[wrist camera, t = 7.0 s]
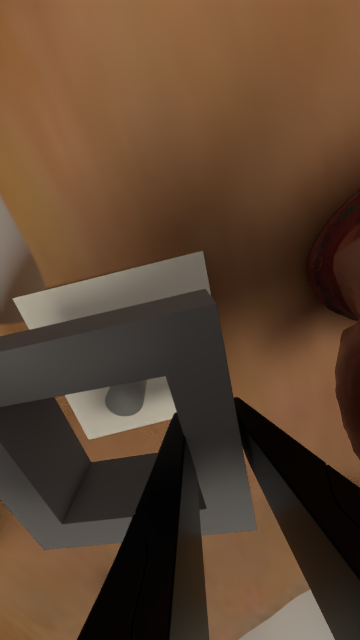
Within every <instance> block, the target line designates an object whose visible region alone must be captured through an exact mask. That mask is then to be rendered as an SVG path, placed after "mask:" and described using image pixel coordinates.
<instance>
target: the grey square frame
mask: <svg viewBox="0 0 360 640" xmlns="http://www.w3.org/2000/svg"><path fill="white" fill-rule="evenodd" d="M164 376H166V379H167V382H168V386H169V389H170V392H171V395H172V398H173V402H174V405H175V408H176V411H177V415H178V418H179V421H180V424H181V427H182V431H183V434H184V436H185V437H186V440H187V443H188V447H189V450H190V453H191V456H192V460H193V463H194V466H195V469H196V474H197V485H198V498H199V512H200V525H201V535H210V534H221V533H232V532H243V531H254V530H257V526H256V521H255V515H254V510H253V504H252V499H251V493H250V487H249V482H248V476H247V471H246V465H245V460H244V454H243V448H242V443H241V437H240V432H239V426H238V421H237V415H236V409H235V404H234V398H233V393H232V387H231V382H230V376H229V371H228V365H227V359H226V354H225V348H224V343H223V337H222V332H221V326H220V320H219V315H218V309H217V304H216V302H215V301H214V299H213V298H212V297H211V295H210V294H209V293H208V291H207V290H206V289H202V290H198V291H193V292H189V293H185V294H180V295H176V296H172V297H168V298H163V299H159V300H155V301H151V302H146V303H142V304H138V305H133V306H129V307H125V308H121V309H116V310H112V311H108V312H103V313H99V314H95V315H91V316H86V317H82V318H78V319H74V320H69V321H65V322H61V323H56V324H52V325H48V326H44V327H39V328H35V329H31V330H27V331H22V332H18V333H14V334H9V335H5V336H1V337H0V500H1V501H2V502H3V503H4V504H5V506H6V507H7V508H8V509H9V510H10V511H11V512H12V514H13V515H14V516H15V517H16V518H17V519H18V520H19V522H20V523H21V524H22V525H23V526H24V527H25V528H26V530H27V531H28V532H29V533H30V534H31V535H32V536H33V538H34V539H35V540H36V541H37V542H38V543H39V544H40V546H41V547H42V548H43V549H44V550H48V549H59V548H70V547H80V546H91V545H102V544H113V543H122V541H123V539H124V537H125V534H126V532H127V529H128V527H129V524H130V522H131V519H132V517H133V515H134V514H135V510H136V507H137V504H138V502H139V499H140V497H141V494H142V492H143V489H144V487H145V484H146V482H147V479H148V477H149V474H150V472H151V469H152V467H153V464H154V462H155V459H156V457H157V454H158V453H153V454H146V455H139V456H132V457H125V458H118V459H111V460H104V461H97V462H91V461H90V460H89V458H88V456H87V454H86V453H85V451H84V449H83V447H82V445H81V444H80V442H79V440H78V438H77V437H76V435H75V433H74V431H73V430H72V428H71V426H70V424H69V422H68V421H67V419H66V417H65V415H64V414H63V412H62V410H61V408H60V407H59V405H58V403H57V401H56V399H55V398H54V397H57V396H62V395H68V394H73V393H78V392H84V391H89V390H94V389H100V388H105V387H110V386H116V385H121V384H126V383H132V382H137V381H142V380H148V379H153V378H158V377H164Z"/></svg>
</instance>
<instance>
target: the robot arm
mask: <svg viewBox="0 0 360 640" xmlns="http://www.w3.org/2000/svg"><path fill="white" fill-rule="evenodd" d="M234 404H235V409H236V415H237V421H238V426H239V432H240V437H241V443H242V447H243V449H244V452H245V455H246V457H247V459H248V462H249V464H250V466H251V468H252V470H253V472H254V474H255V476H256V478H257V481H258V483H259V485H260V487H261V489H262V491H263V493H264V495H265V497H266V499H267V501H268V503H269V505H270V507H271V509H272V511H273V513H274V515H275V517H276V519H277V522H278V524H279V526H280V528H281V530H282V532H283V534H284V536H285V538H286V540H287V542H288V544H289V546H290V548H291V550H292V552H293V554H294V556H295V558H296V560H297V563H298V565H299V567H300V569H301V571H302V573H303V575H304V577H305V579H306V581H307V583H308V585H309V587H310V589H311V591H312V593H313V595H314V597H315V599H316V601H317V603H318V605H319V607H320V609H321V612H322V614H323V616H324V618H325V620H326V622H327V624H328V626H329V628H330V630H331V632H332V634H333V636H334V638H335V640H360V488H359V487H358V486H356V485H355V484H354V483H352V482H351V481H350V480H348V479H347V478H345V477H344V476H343V475H341V474H340V473H339V472H337V471H336V470H335V469H333V468H332V467H331V466H329V465H326V463H325V462H324V461H323V460H321V459H320V458H319V457H317V456H316V455H315V454H313V453H312V452H311V451H309V450H308V449H307V448H305V447H304V446H303V445H301V444H300V443H299V442H297V441H296V440H295V439H293V438H292V437H291V436H289V435H288V434H287V433H285V432H284V431H283V430H281V429H280V428H279V427H277V426H276V425H275V424H273V423H272V422H271V421H269V420H268V419H267V418H265V417H264V416H263V415H261V414H260V413H259V412H257V411H256V410H255V409H253V408H252V407H251V406H249V405H248V404H247V403H245V402H244V401H243V400H241V399H240V398H238V397H235V398H234ZM77 640H209V629H208V616H207V603H206V590H205V577H204V564H203V551H202V538H201V525H200V512H199V498H198V485H197V474H196V469H195V466H194V463H193V460H192V456H191V453H190V450H189V447H188V443H187V440H186V437H185V436H184V434H183V431H182V427H181V424H180V421H179V418H178V415H177V412H176V413H174V414H173V417H172V419H171V422H170V424H169V427H168V429H167V432H166V434H165V437H164V439H163V442H162V444H161V447H160V449H159V452H158V454H157V457H156V459H155V462H154V464H153V467H152V469H151V472H150V474H149V477H148V479H147V482H146V484H145V487H144V489H143V492H142V494H141V497H140V499H139V502H138V504H137V507H136V510H135V514H134V515H133V517H132V519H131V522H130V524H129V527H128V529H127V532H126V534H125V537H124V539H123V541H122V544H121V546H120V548H119V551H118V553H117V556H116V558H115V560H114V562H113V565H112V567H111V569H110V571H109V573H108V575H107V577H106V580H105V582H104V584H103V586H102V588H101V590H100V593H99V595H98V597H97V599H96V601H95V603H94V605H93V607H92V609H91V611H90V613H89V615H88V618H87V620H86V622H85V624H84V626H83V628H82V630H81V632H80V634H79V636H78V638H77Z"/></svg>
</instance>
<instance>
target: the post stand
mask: <svg viewBox="0 0 360 640" xmlns="http://www.w3.org/2000/svg"><path fill="white" fill-rule="evenodd" d="M202 289H206V290H207V291H208V293H209V294H210V295H211V292H210V286H209V281H208V276H207V270H206V265H205V259H204V254H203V251H199V252H195V253H191V254H187V255H183V256H179V257H175V258H171V259H167V260H163V261H160V262H156V263H152V264H148V265H144V266H140V267H136V268H132V269H128V270H124V271H120V272H116V273H112V274H108V275H104V276H100V277H96V278H92V279H88V280H84V281H80V282H76V283H72V284H68V285H64V286H60V287H56V288H52V289H48V290H44V291H41V292H36V293H33V294H28V295H24V296H20V297H16V298H13V300H14V302H15V304H16V306H17V308H18V310H19V312H20V313H21V315H22V317H23V319H24V321H25V323H26V325H27V326H28V328H29V330H31V329H35V328H39V327H44V326H48V325H52V324H56V323H61V322H65V321H69V320H74V319H78V318H82V317H86V316H91V315H95V314H99V313H103V312H108V311H112V310H116V309H121V308H125V307H129V306H133V305H138V304H142V303H146V302H151V301H155V300H159V299H163V298H168V297H172V296H176V295H180V294H185V293H189V292H193V291H198V290H202ZM65 397H66V399H67V400H68V402H69V404H70V406H71V408H72V410H73V411H74V413H75V415H76V417H77V419H78V421H79V423H80V424H81V426H82V428H83V430H84V432H85V434H86V436H87V437H88V439H89V440H90V439H94V438H98V437H102V436H106V435H110V434H114V433H118V432H122V431H126V430H130V429H134V428H138V427H141V426H145V425H149V424H153V423H157V422H161V421H165V420H169V419H172V417H173V414H174V413H176V412H177V411H176V408H175V405H174V402H173V398H172V395H171V392H170V389H169V386H168V382H167V379H166V376H164V377H158V378H153V379H148V380H142V381H137V382H132V383H126V384H121V385H116V386H110V387H105V388H100V389H94V390H89V391H84V392H78V393H73V394H68V395H65Z"/></svg>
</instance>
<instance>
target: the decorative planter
mask: <svg viewBox="0 0 360 640" xmlns="http://www.w3.org/2000/svg"><path fill="white" fill-rule="evenodd" d="M308 276H309V279H310V282H311V284H312V286H313V288H314V290H315V291H316V293H317V295H318V296H319V298H320V300H321V301H322V303H323V304H324V305H325V306H326V307H327V308H328V309H330V310H331V311H333V312H335V313H337V314H340V315H343V316H345V317H348V318H350V319H353V320H356V321H358V322H357V323H356V324H355V325H353V326H351V327H349V328H347V329H345V330H343V332H342V335H341V340H340V347H339V352H338V357H337V362H336V368H335V377H336V390H335V391H336V398H337V400H338V403H339V407H340V411H341V416H342V421H343V426H344V428H345V430H346V432H347V434H348V437H349V439H350V441H351V444H352V448H353V451H354V453H355V454H356V455H357V456H358V458H359V459H360V191H358V192H357V193H356V194H355V195H354V196H353V197H351V198H350V199H349V200H348V201H347V202H346V203H345V204H344V205H343V206H342V207H341V208H340V209H339V210H338V211H337V212H336V213H335V214H334V215H333V217H332V218H331V219H330V220H329V221H328V223H327V224H326V226H325V227H324V229H323V230H322V232H321V234H320V235H319V237H318V238H317V240H316V242H315V244H314V245H313V248H312V250H311V253H310V255H309V259H308Z"/></svg>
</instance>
